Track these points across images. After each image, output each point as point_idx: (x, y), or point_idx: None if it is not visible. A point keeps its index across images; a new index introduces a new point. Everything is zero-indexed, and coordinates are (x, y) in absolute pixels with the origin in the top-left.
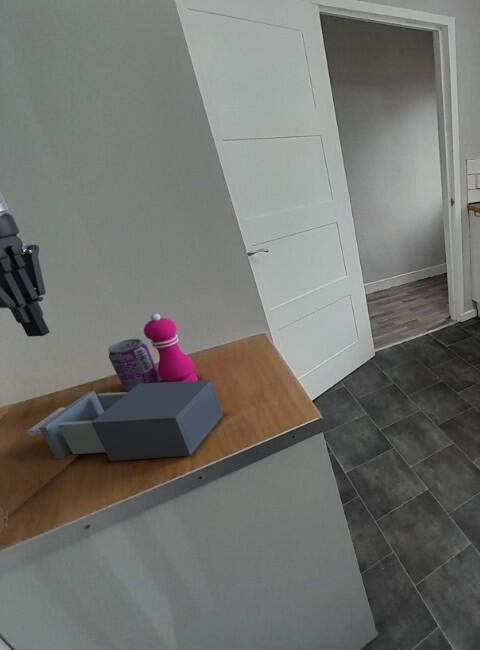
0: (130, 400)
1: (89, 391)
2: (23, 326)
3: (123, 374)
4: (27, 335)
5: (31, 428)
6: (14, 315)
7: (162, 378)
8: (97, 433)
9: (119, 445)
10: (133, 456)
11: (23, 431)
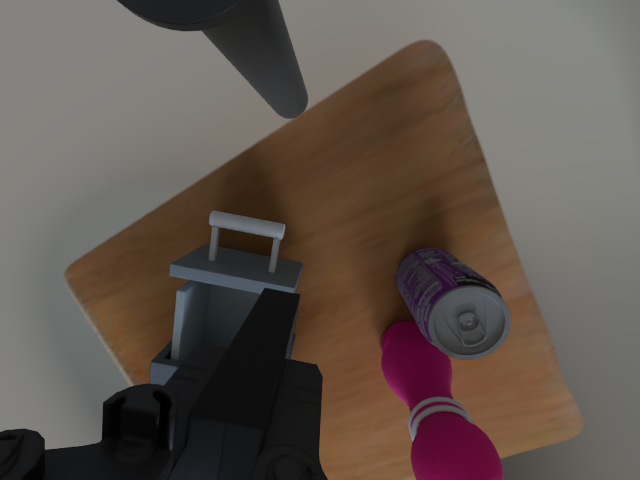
0: None
1: (293, 290)
2: (249, 316)
3: (407, 285)
4: (263, 290)
5: (215, 218)
6: (168, 386)
7: (388, 346)
8: (165, 347)
9: None
10: None
11: (321, 125)
